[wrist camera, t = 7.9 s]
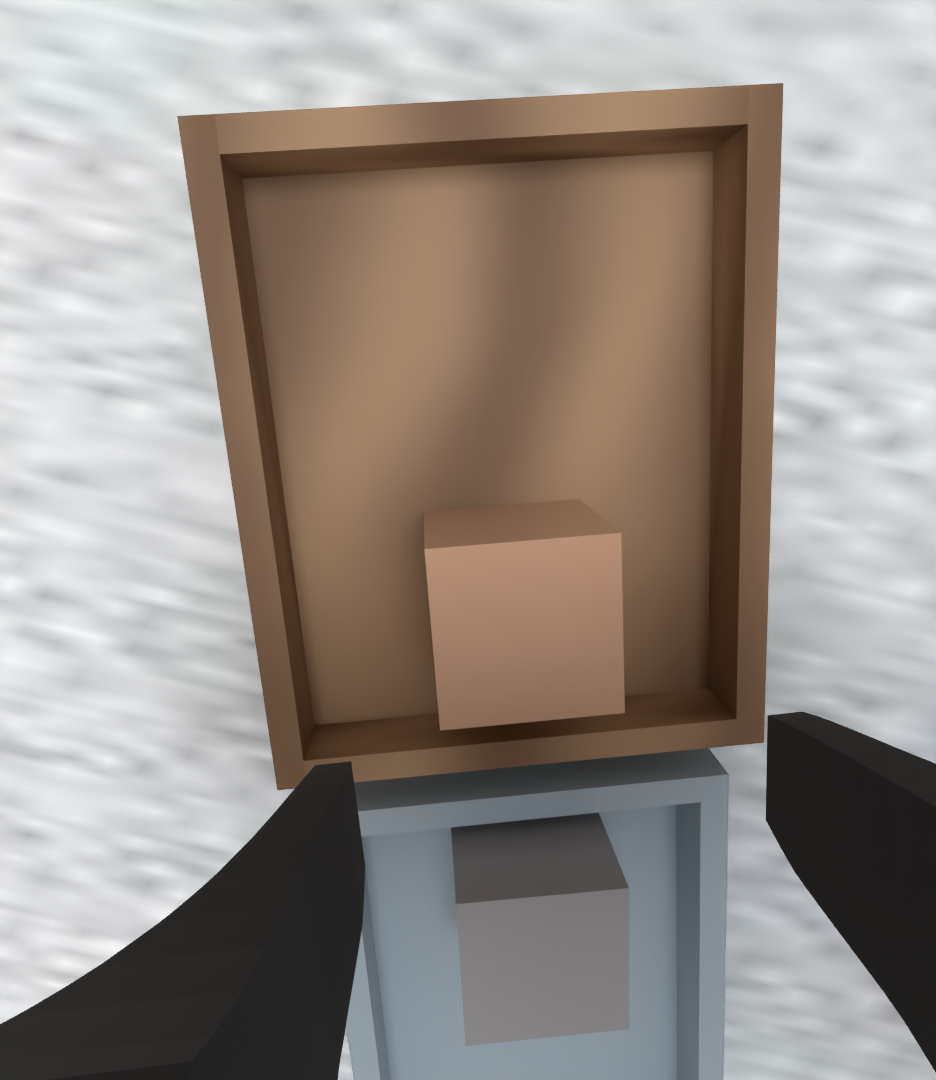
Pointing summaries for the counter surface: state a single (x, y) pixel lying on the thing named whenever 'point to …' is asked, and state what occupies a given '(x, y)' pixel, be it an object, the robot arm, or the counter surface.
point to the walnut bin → (495, 395)
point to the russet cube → (524, 613)
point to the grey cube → (541, 929)
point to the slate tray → (654, 919)
